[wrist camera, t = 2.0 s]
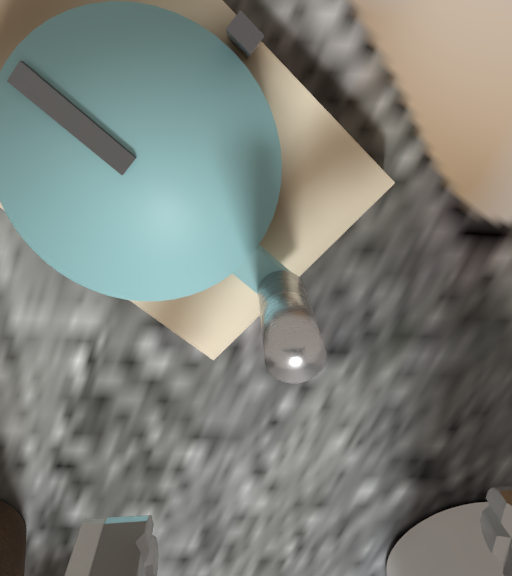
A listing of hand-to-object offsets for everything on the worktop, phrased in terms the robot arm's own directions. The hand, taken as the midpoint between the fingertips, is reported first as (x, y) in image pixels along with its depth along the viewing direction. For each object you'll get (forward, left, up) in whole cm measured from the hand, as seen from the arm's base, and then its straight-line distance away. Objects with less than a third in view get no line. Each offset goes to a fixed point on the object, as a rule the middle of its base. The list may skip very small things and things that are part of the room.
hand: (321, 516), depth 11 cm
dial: (+7, 0, -15) cm, 17 cm away
